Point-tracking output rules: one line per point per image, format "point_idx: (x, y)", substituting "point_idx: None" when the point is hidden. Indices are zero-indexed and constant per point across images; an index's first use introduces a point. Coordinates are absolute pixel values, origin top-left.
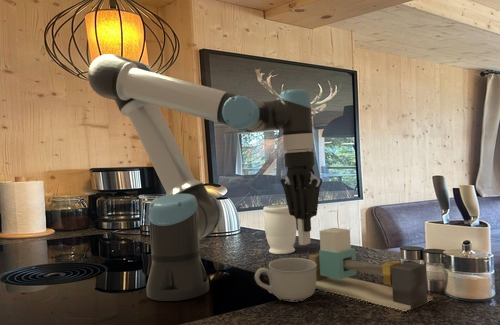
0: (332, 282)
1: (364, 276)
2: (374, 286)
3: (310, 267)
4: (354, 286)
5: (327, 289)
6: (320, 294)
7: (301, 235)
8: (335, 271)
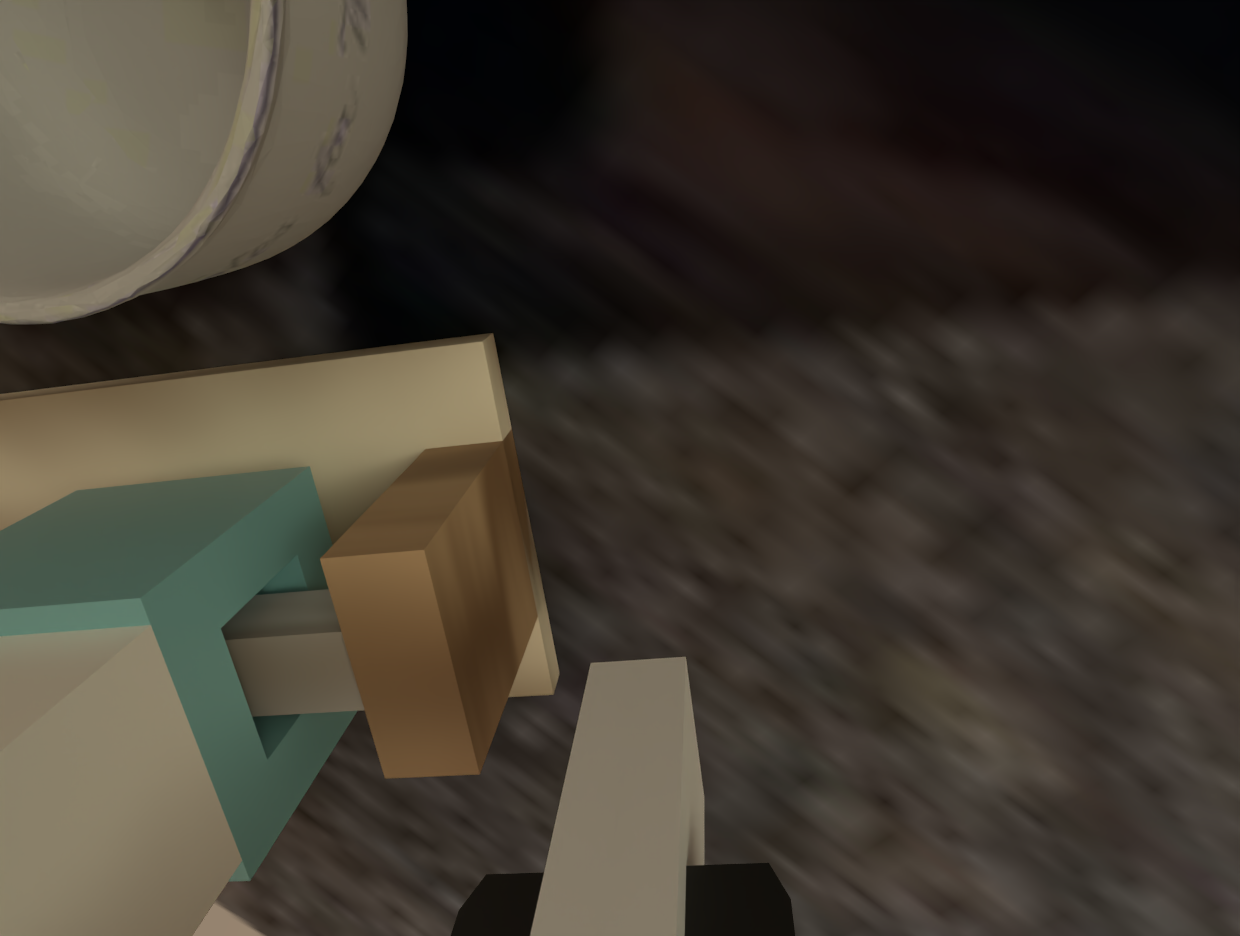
0: None
1: (423, 843)
2: None
3: (62, 279)
4: None
5: (183, 375)
6: (200, 297)
7: (590, 768)
8: (71, 515)
